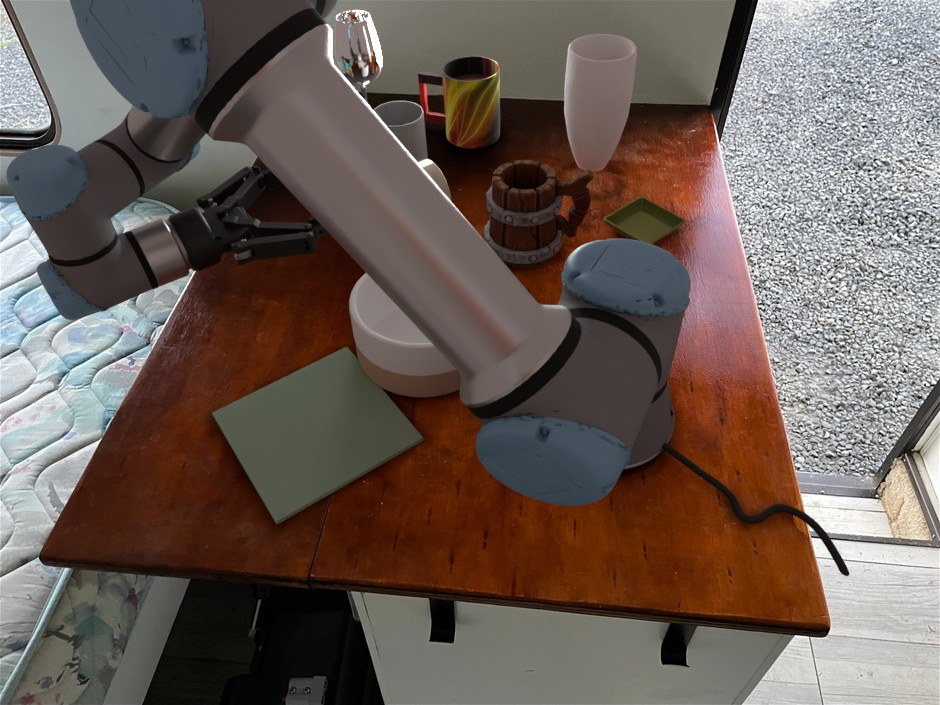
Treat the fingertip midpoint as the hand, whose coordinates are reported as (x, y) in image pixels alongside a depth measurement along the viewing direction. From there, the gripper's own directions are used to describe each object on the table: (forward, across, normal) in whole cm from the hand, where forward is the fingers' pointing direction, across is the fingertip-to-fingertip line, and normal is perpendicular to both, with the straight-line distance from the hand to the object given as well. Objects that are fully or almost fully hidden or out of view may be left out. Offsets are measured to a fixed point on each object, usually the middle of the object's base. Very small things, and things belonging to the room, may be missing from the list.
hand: (331, 186), depth 96 cm
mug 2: (+23, +16, -11) cm, 30 cm away
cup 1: (+19, -14, -11) cm, 26 cm away
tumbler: (+11, 0, -11) cm, 15 cm away
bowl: (-1, +24, -11) cm, 26 cm away
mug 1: (+33, -17, -11) cm, 39 cm away
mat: (-18, +27, -11) cm, 34 cm away
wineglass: (+21, -29, -11) cm, 37 cm away
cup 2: (+41, +8, -11) cm, 43 cm away
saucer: (+38, +23, -11) cm, 46 cm away
